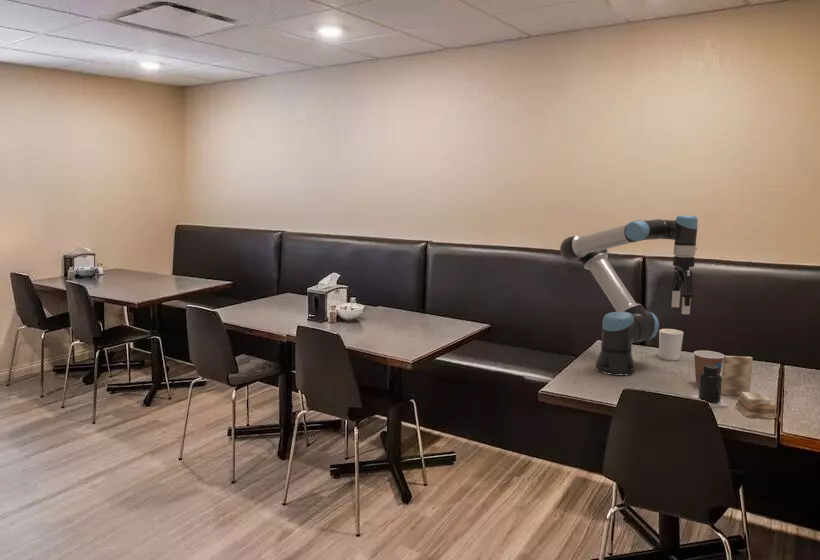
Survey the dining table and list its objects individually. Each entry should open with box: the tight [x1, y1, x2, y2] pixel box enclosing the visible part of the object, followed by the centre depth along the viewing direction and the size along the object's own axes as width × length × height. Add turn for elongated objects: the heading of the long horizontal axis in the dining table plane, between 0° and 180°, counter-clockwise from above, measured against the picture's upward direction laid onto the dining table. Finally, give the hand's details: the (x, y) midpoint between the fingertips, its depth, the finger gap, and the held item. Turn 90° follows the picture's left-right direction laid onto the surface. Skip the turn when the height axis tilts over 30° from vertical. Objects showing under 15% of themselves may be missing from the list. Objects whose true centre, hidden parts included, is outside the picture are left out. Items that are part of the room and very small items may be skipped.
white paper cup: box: [658, 328, 684, 361], centre depth 254 cm, size 10×10×12 cm
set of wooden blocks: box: [721, 355, 778, 419], centre depth 197 cm, size 9×23×14 cm, turn 171°
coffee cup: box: [693, 350, 725, 386], centre depth 218 cm, size 10×10×12 cm
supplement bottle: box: [698, 365, 722, 403], centre depth 200 cm, size 7×7×12 cm
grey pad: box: [690, 394, 729, 409], centre depth 201 cm, size 9×9×1 cm
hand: (680, 310), depth 225 cm, fingers open, 13 cm apart
